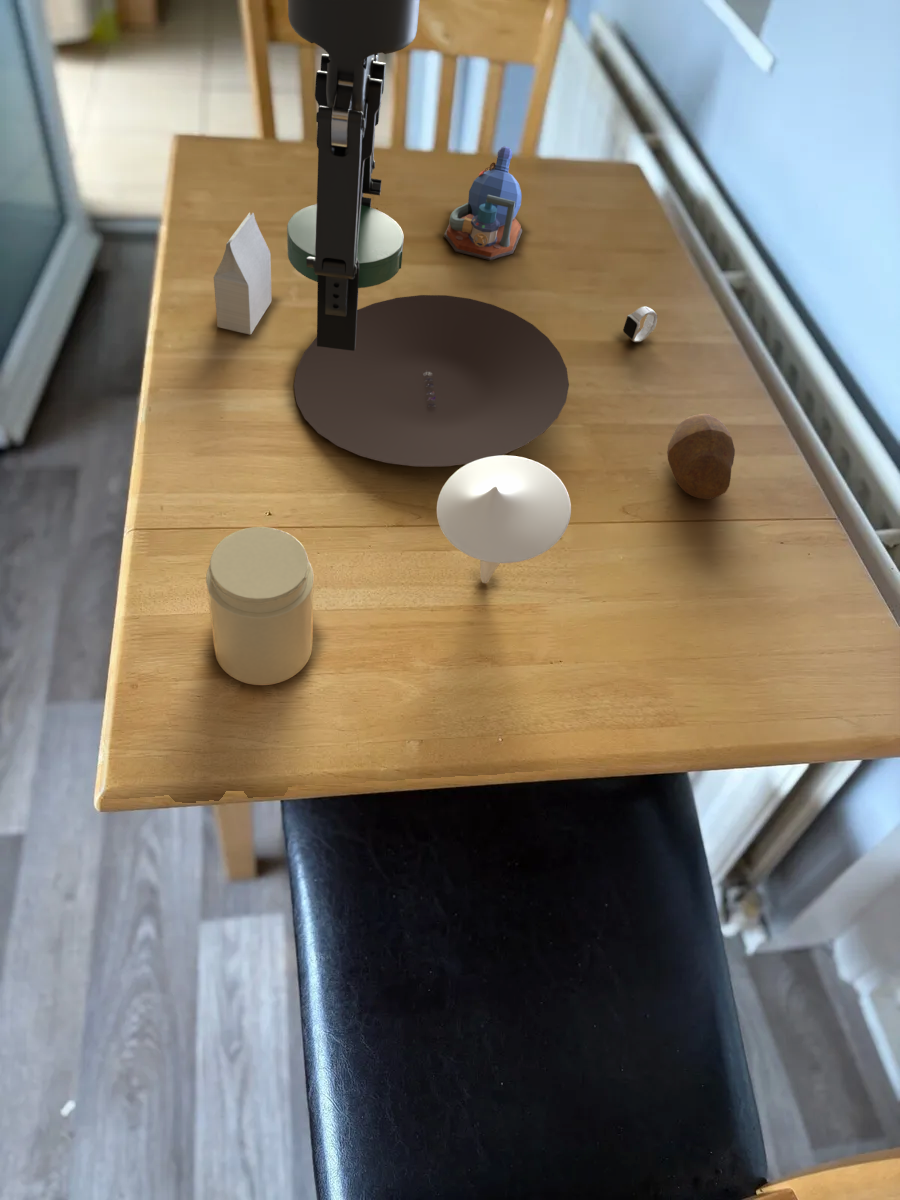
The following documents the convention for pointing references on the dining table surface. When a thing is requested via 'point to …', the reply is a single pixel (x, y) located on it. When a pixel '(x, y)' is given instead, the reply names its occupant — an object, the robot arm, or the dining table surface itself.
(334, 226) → the robot arm
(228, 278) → the tea bag
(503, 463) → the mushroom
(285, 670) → the jam jar
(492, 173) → the model
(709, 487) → the potato
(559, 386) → the plate
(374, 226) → the jar lid
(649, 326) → the smartwatch
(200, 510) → the dining table surface
